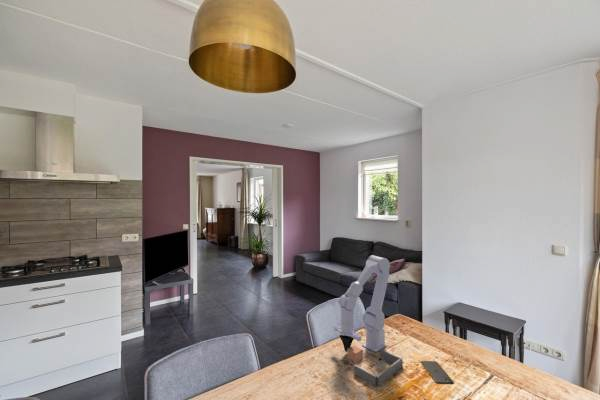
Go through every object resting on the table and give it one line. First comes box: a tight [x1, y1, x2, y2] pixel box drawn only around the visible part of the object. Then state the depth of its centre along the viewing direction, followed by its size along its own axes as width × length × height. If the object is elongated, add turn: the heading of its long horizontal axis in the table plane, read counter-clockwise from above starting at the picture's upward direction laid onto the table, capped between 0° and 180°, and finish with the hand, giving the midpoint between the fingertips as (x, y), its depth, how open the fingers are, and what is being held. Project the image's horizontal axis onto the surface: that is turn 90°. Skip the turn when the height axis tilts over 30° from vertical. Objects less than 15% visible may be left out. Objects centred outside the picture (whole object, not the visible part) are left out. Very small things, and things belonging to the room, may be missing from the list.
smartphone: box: [420, 360, 455, 385], centre depth 113 cm, size 7×1×15 cm
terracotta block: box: [346, 345, 364, 363], centre depth 123 cm, size 5×5×4 cm
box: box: [353, 348, 403, 388], centre depth 114 cm, size 20×11×4 cm, turn 132°
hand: (347, 350), depth 126 cm, fingers closed
